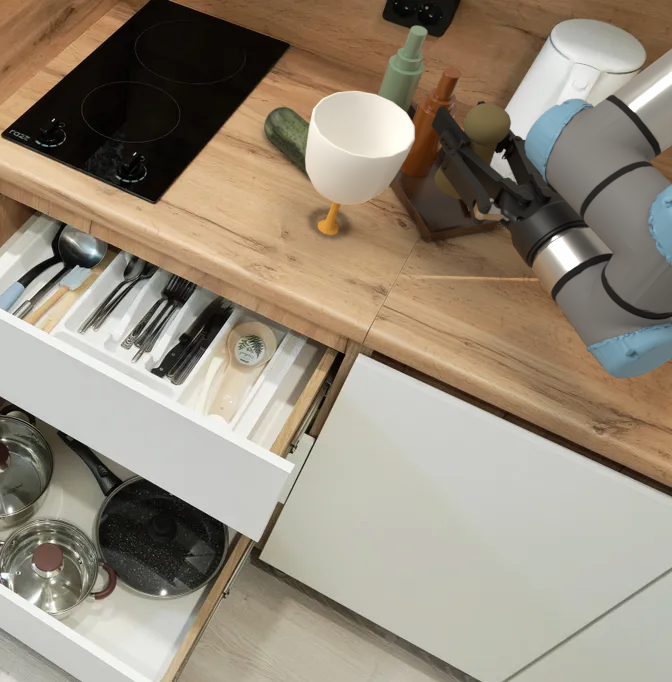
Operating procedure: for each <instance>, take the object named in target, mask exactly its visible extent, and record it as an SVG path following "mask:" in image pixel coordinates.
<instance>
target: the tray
mask: <svg viewBox="0 0 672 682" xmlns="http://www.w3.org/2000/svg"><path fill="white" fill-rule="evenodd" d="M417 107H418V106H417V105H416V104H415V103H414V101H413V100H412V102H411V105H410V107H409V110H408V113H407V114H408V116H409V118H410V119H411V121H412V120H413V117H414V115H415V112H416V110H417ZM446 154H447V152H446V151H445V149H444V148H443V146H441V148H440V151H439V153H438V155H437V157H436V160H435V162H434V164H433V166H432V168H431V171H430V172H429V174H427V175H426V176H423V177H413V176H409V175H407V174H405V173H403V172H402V171H401V170H400V169H399V171H398V173H397V174H396V176H395V177H394V179H393V180H392V182H391V183H390V184H389V187H390V188H391V190H392V192H393V193H394V194H395V196H396V197H397V198H398V201H399V202H400V203H401V205H402V207H403V208H404V210H405V212H406V213H407V215H408V216H409V217H410V219H411V220H412V222H413V224H414V225H415V227H416V228H417V230H418V231H419V233H420V235H421V236H422V238H423V239H424V241H425V242H426V243H430V242H436V241H441V240H445V239H452V238H457V237H463V236H467V235H472V234H479V233H483V232H489V231H495V230H496V229H497V227H498V226H499V225H500V224H499V223H498V221H496V220H484V222H483V223H482V224H481V225H477V224H475V223H474V222H473V221H472V217H471V213H470V210H469V208H468V207H467V206H466V204H465V203H464V201H463V200H462V199H456V198H453V197H450V196H448V195H447V194H445V193H443V192H442V191H441V190H440V189H439V188H438V187H437V185H436V184H435V179H434V177H435V174H436V172H437V171H438V169H439V168H440V166H441V164H442V162H443V160H444V158H445V156H446Z"/></svg>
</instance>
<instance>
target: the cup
mask: <svg viewBox="0 0 672 682" xmlns="http://www.w3.org/2000/svg"><path fill="white" fill-rule="evenodd" d="M309 124H310V125H309V131H308V139H307V147H306V156H305V163H306V171H307V173H308V175H307V176H308V177H309V178H308V179H309V180H310V182H311V184H312V186H313V188H314V190H315V191H317V193H318V194H320V195H321V196H322V198H325V199H326V200H329V201H331V206H330V209H329V211H328V214H327V216H326V218H325V219H321V220H320V221H318V223H317V228H318V230H319V231H320V232H321V233H322V234H324V235H328V236H332V235H336V234H337V233H338V232H339V230H340V227H339V225H338V224H337V222H336V220H337V216H338V212H339V209H340V207H341V205H345V206H354V205H362V204H364V203H367V202H369V201H370V200H373V199H375V198H377V197H378V196H380V195H382V194H383V193H384V192H385V190H386V189H387V188H388V187H390V185H389V184H390V183H391V182H392V180H393V179H394V177H395V176H396V174H397V173H398V171H399V169H400V168H401V166H402V164H403V162H404V161H405V159H406V157H407V155H408V153H409V151H410V149H411V147H412V145H413V143H414V141H415V126H414V124H413V123H412V121H411V119H410V118H409V116H408V114H407V113H406V112H405V111H404V110H402V109H401V108H400V107H399V106H397V105H396V104H395V103H394V102H392V101H390V100H387V99H385V98H383V97H380V96H378V95H377V94H376V93H370V92H365V91H358V90H348V91H337V92H334V93H332V94H330V95H327V96H325V97H323V98H321V100H319V101H318V103H317V104H316V105H315V106H314V108H312V113H311V117H310V121H309Z"/></svg>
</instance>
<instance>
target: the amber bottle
mask: <svg viewBox="0 0 672 682" xmlns="http://www.w3.org/2000/svg"><path fill="white" fill-rule="evenodd" d="M461 77H462V71H461V70H459V69H458V68H456V67H453V66H448V67H447V66H446V67H445V68H444V69H443V71H442V74H441V75H440V79H439V81H438V82H437V83H438V84H437V86H436V87H434V88H432V89H431V90H430V91H429V93H428V94H426V95H423V96H422V97H421V99H420V100H419V102H418V105H417V106H416V107H417V110H416V112H415V115H414V117H413V120H412V123H413V124H414V126H415V141H414V143H413V145H412V147H411V149H410V151H409V153H408V155H407V157H406V159H405V161H404V162H403V164H402V166H401V168H400V170H401V171H402V172H403V173H405V174H407V175H409V176H413V177H423V176H426V175H427V174H429V172H430V171H431V168H432V166H433V164H434V162H435V160H436V157H437V155H438V153H439V151H440V148H441V146H442V145H441V144H440V142H439V139H440V136H439V135H438V134H437V132H436V131H435V129H434V128H433V127H432V122H433V120H434V118H435V115H436V113H437V111H438V108H439V107H445V108H446V109H447V111H448V112H449V113H450V115H451V116H452V117H453V119H454V120H455V117H456V115H457V112H458V106H457V104H456V101H457V97H456V94H455V92H456V89H457V87H458V84H459V83H460V80H461Z"/></svg>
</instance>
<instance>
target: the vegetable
mask: <svg viewBox="0 0 672 682" xmlns="http://www.w3.org/2000/svg"><path fill="white" fill-rule="evenodd" d="M263 125H264V126H263V128H264V129H263V131H264V134H265V136H266V138H267V139H268V140H269V142H270V143H272V144H273V145H274V146H275V147H276V148H277V149H278V150H280V151H281V152H282V153H283V154H285V155H286V156H287V157H288V158H289V159H290V160H291V161H292V162H293V163H294V164H296V165H297V166H298V167H299V168H300V169H301V170H302V171H303V172H304V173H305V174H306V175H307V176H308V173H307V171H306V163H305V156H306V147H307V139H308V131H309V125H310V122H308V121H307V120H305V118H303V117H302V116H301V115H300V114H299V113H297V112H296V111H295V110H294V109H292V108H290V107H287V106H279V107H276V108H274V109H272V110H271V111H270V112H269V113H268V115H267V116H266V118H265V120H264V123H263Z"/></svg>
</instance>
